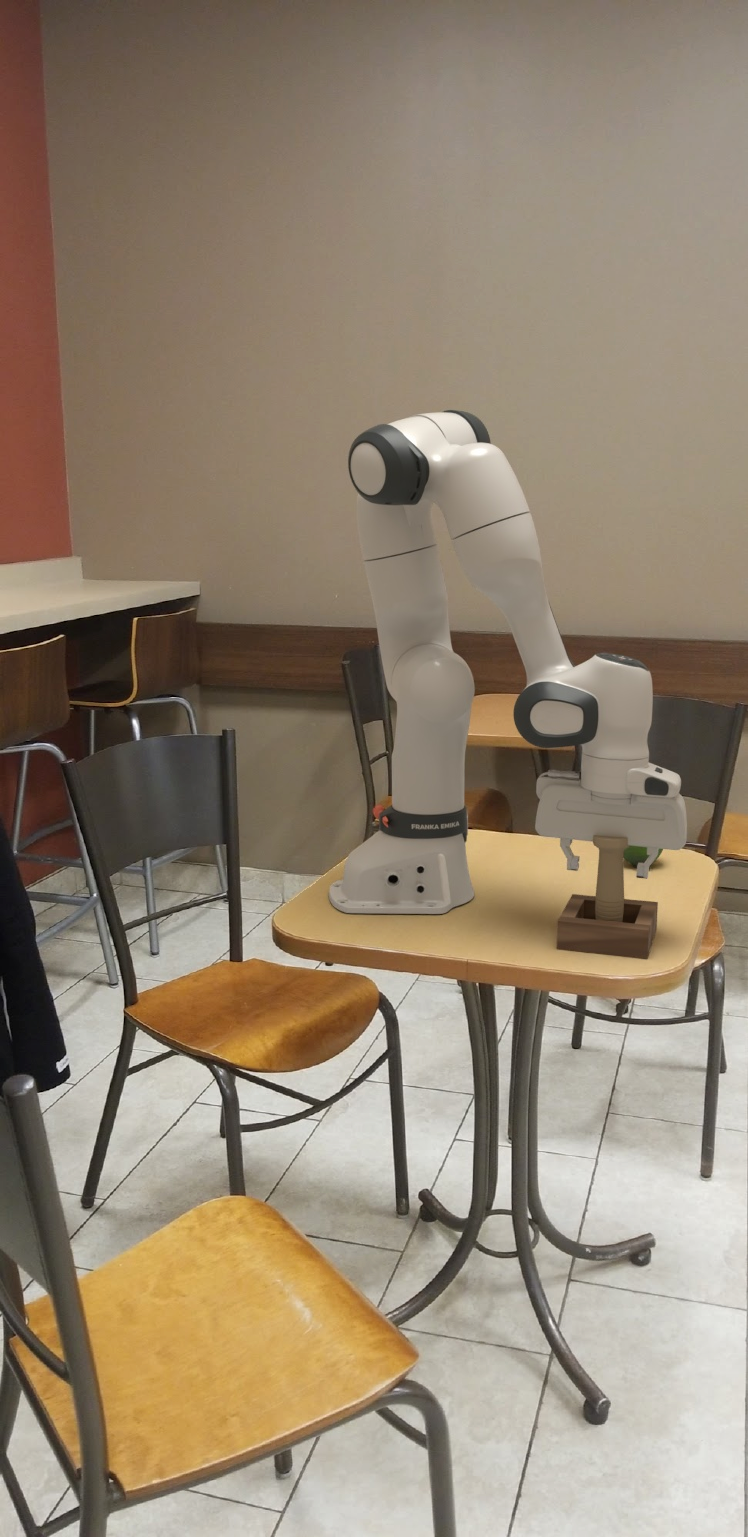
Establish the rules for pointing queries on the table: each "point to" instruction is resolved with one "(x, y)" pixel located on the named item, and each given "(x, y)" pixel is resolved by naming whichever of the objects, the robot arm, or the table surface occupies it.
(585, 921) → the socket board
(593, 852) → the table surface
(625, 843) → the handle
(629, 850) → the fruit
